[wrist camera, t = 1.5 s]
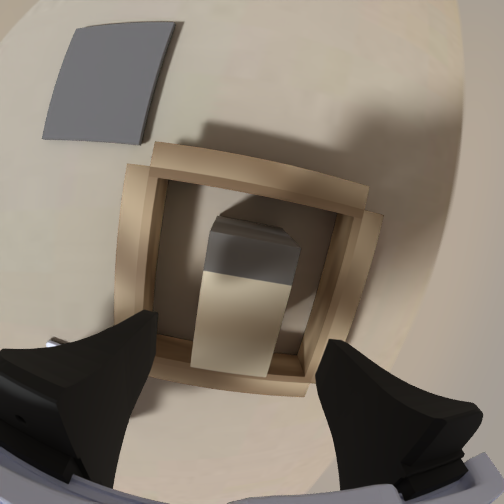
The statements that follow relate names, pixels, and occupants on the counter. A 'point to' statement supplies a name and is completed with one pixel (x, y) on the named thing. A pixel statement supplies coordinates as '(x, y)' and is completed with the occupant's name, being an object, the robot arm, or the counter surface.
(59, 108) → the mat
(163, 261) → the counter surface
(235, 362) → the box
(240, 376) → the square wooden frame
